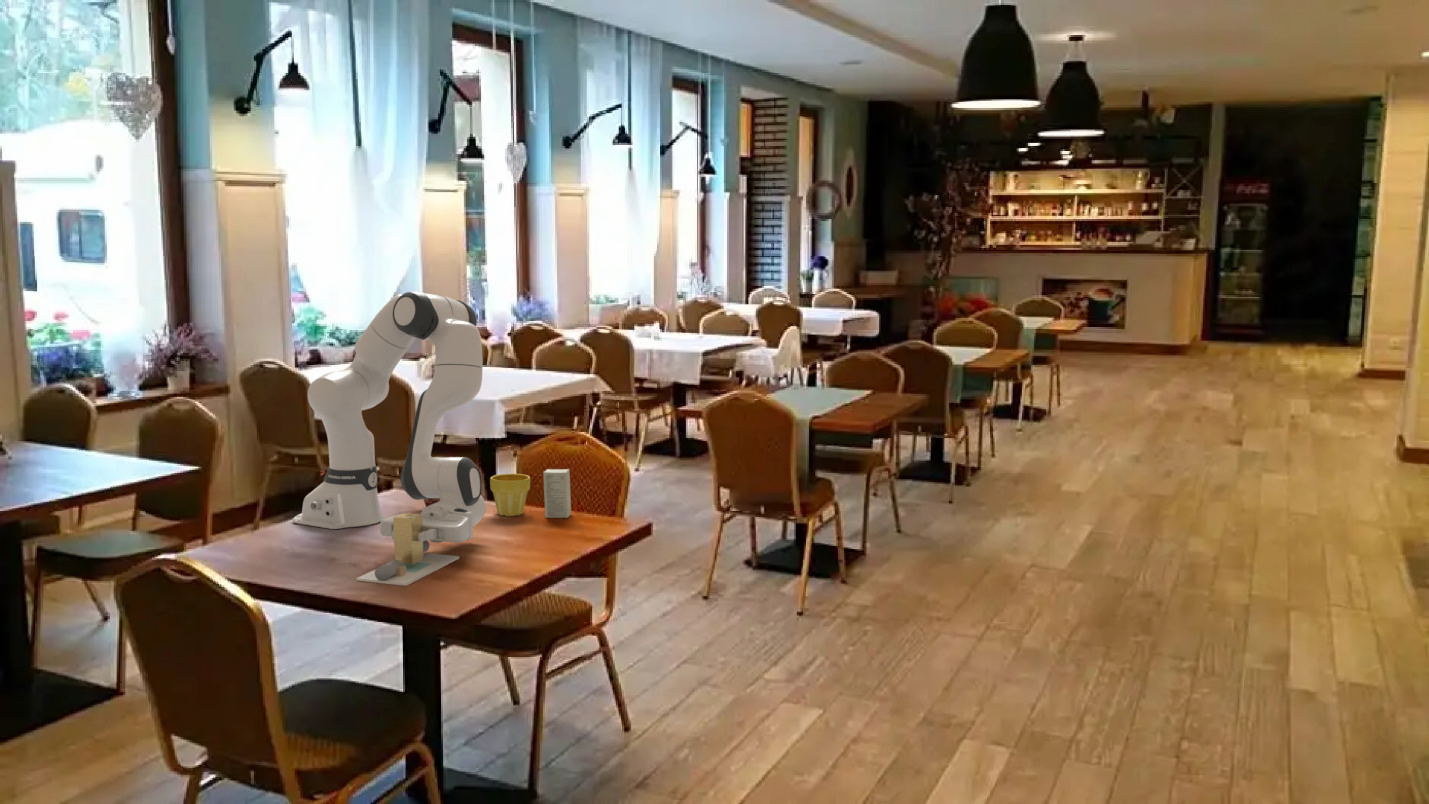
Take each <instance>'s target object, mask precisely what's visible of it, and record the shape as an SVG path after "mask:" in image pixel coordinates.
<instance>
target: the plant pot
mask: <svg viewBox="0 0 1429 804" xmlns="http://www.w3.org/2000/svg"><path fill="white" fill-rule="evenodd" d="M489 485H490V486H489V487H490V491H491V492H492V493H493V499H494V503H495V507H496V513H497V515H499V514H501V515H500V516H502V515H505V516H504V517H517V516H521V515H523V514H524V511H525V506H526V501H527V497H528V492H529V490H530V489H531V477H530V475H527V474H522V473H501V474H494V475H493V476H491V477H490V478H489ZM520 514H521V515H520ZM516 515H517V516H516Z"/></svg>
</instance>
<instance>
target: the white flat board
mask: <svg viewBox="0 0 1429 804" xmlns="http://www.w3.org/2000/svg"><path fill="white" fill-rule="evenodd" d="M429 542H430V541H429V540H425V541H423V559H422V560H420V561H418V562H416V563H414V564H407V563H401V562H400V561H399V560H395V559H393V560H391V561H389V562H386V563H384V564H382V565H379V566H378V567H376V569H373V570H371V571H369V572H367V573H365V574H363V575H361V576H359V577H357V578H356V581H358V582H365V583H366V582H367V583H378V584H385V585H386V584H387V585H394V586H409V585H411V584H413V583H414V582H417V581H419V580H420V579H422V578H424V577H426V576H429V575H430V574H433V572H436V571H438V570H440V569H442V568H444V567H445V566H448V565H450V564H452V563H453V562H455V561H457V560H459V559H460V556H459V555H449V554H440V553H428V552H427V551H428V550H429V549H430V543H429ZM425 552H426V553H425ZM449 563H450V564H449Z"/></svg>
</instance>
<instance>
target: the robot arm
mask: <svg viewBox="0 0 1429 804" xmlns="http://www.w3.org/2000/svg"><path fill="white" fill-rule="evenodd" d="M416 339H419V340H421V341H424V340H427V341H430V342H432V343H433V346H434V349H435V359H434V361H435V362H434V372H433V376H432V380H431V381H430V384H429V385H428V387H427V389H425V390H424V391H422V393H421V395H420V396H419V400H418V403H417V407H416V410H415V416H414V421H413V425H412V431H411V435H410V441H409V445H408V451H407V454H406V458H405V461H404V464H403V467H402V468H401V472H400V485H401V487H402V489H403V490H404V492H405V493H406V495H408V496H409V497H410V498H412V499H413V500H416V501H418V500H419V501H420V500H423V499H430V498H440V501H439V502H437V503H434V504H432V505H429V506H427V507H426V506H425V507H424V508H423V509H422V510H421V512H420V514H422V529H423V532H418V533H416V534H415V537H416V538H415V540H416V541H419V542H423V541H425V540H427V541H429V542H433V543H437V544H439V543H443V542H449V543H462V542H465V541H469V540H471V539H473V538H474V527H475V526H476V525H477V524H479V522H480V521H481V520H482V519H483V517H484V515H485V512H486V501H485V499H484V497H483V496H482V494H481V493H482V487H483V486H482V476H481V472H480V470H479V468H478V466H477V465H476V464H475V462H474V461H473V460H472V459H471V458H469V457H466V456H461V457H460V456H455V457H454V456H434V457H433V456H432V450H433V444H434V439H435V434H436V429H437V425H438V423H439V421H440V419H441V418H442V417H443V416H445V415H446V414H448V413H449V412H451V411H453V410H456V409H458V408H460V407H464V406H465V405H466V404H468V403H470V402H471V401H472V400H473V399H475V398H476V396H477V395H479V392H480V390H481V387H482V382H483V359H484V358H483V347H482V338H481V333H480V331H479V328H478V327H477V315H476V313H475V310H474V309H473V308H472V307H471V306H470V305H469V304H467V303H465V302H464V301H462V300H459V299H458V300H457V299H454V298H451V297H448V296H444V295H440V294H433V293H427V292H426V293H425V292H422V291H415V290H414V291H408V292H404V293H399V294H397V295H395V296H393V297H392V298H391V299H390V300H389V301H387V303H385V305H384V306H382V308H381V309H380V310H379V311H378V313H377V314H376V315H375V316H374V317H373V319H372V320H371V321H370V323H369V325H368V326H367V327H366V329H365V330H364V331H363V332H362V335H361V336H360V337H359V338H358V340H357V341H356V342H355V345H354V352H355V355H354V358H353V361H351V364H350V365H349V366H348V367H346V368H344V369H341V370H337V371H331V372H326V373H325V374H322V375H321V376H319V377H318V378H316V379H314V380H313V381H311V383H310V385H309V387H308V389H307V401H308V404H309V407H311V409H312V410H313V411H314V412H315V413H317V415H318V416H319V417H320V420H321V421H322V424H323V425H324V428H325V429H324V430H325V433H326V437H327V444H328V445H327V446H328V458H329V460H328V461H329V466H328V467H327V468H325V469H323V470H320V471H319V472H320V476H323V475H324V479H323V482H321V483H320V484H319V485H318V486H317V487H316V488H314V489H313V490H312V491H311V492H309V493H308V494H307V495H306V496H305V497H304V498H303V502H302V508H301V509H302V510H301V513H299V514H297V515H295V516H293V519H292V520H293V521H292V522H293V523H294V524H299V525H305V526H311V527H319V528H323V529H331V530H338V529H345V528H355V527H363V526H364V527H365V526H369V525H373V524H376V523H377V524H378V523H379V522H380V524H379V529H380V534H381V536H383V537H391V539H392V540H394V523H393V517H396V516H398V515H399V514H396V515H395V514H394V515H392V516H389V517H386V518H384V516H383V512H382V509H381V505H380V500H379V495H378V494H379V493H378V488H377V487H378V467H377V465H376V459H375V457H376V455H375V437H374V434H373V433H372V431H370V430H369V429H368V427H367V425H366V423H365V420H364V419H363V414H362V411H366V410H369V409H372V408H374V407H376V406H377V405H379V404H380V403H382V402H383V401H384V400H385V399H386V398H387V396H388V395H389V391H390V384H389V381H390V378H391V376H392V375H393V372H394V370H395V368H396V366H397V365H398V364H399V362H400V361H401V360H402V358H403V357H404V356H405V354H406V353H407V352H408V350H409V349H410V348H411V346H412V345H413V343H414V342H415V341H416ZM295 520H297V521H295Z"/></svg>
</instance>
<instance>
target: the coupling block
mask: <svg viewBox="0 0 1429 804" xmlns="http://www.w3.org/2000/svg"><path fill="white" fill-rule="evenodd" d="M397 515H398V516H396V517H393V523H394V539H393V546H394V560H399V561H400V562H401V563H407V564H414V563H416V562H418V561H420V560H422V559H423V542H419V541H416V540H415V538H416V537H415V534H416V533H418V532H423V529H422V514H421V513H411V512H403V513H400V514H397Z"/></svg>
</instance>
